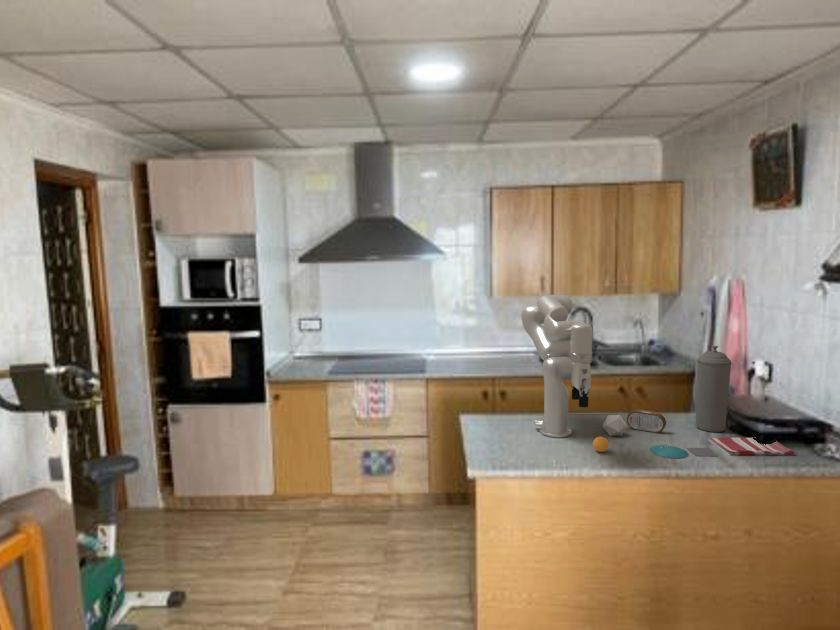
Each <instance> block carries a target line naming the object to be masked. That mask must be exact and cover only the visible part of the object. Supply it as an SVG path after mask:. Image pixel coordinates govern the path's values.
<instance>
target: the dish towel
mask: <svg viewBox="0 0 840 630" xmlns="http://www.w3.org/2000/svg"><path fill="white" fill-rule="evenodd" d="M753 438H754V437H729V436H728V437H725V436H724V437H719V436H717V437H709V438H708V442H710V443H712V444H713V445H714V446H716V447H718V448H719V449H720V450H721V451H723V452H724V453H726V454H727V455H729V456H739V457H741V456H742V457H747V456H748V457H753V456H756V455H758V456H762V455H767V456H795V451H794V450H793V449H791V448H788V447H786V446H784V445H783V444H781V443H780V442H778V441H777V440H776V442H774V443H772V444H766V445H765V444H764V445H763V444H760V443H758V442H757V441H756V440H754V439H753ZM756 457H757V456H756Z"/></svg>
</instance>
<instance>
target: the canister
mask: <svg viewBox="0 0 840 630" xmlns="http://www.w3.org/2000/svg"><path fill="white" fill-rule="evenodd" d="M711 348H712V350H710V351H708V350H707V351H705V352H703V353H702V354H701V355H700V356H699V357H698V358H697V359H696V393H695V395H696V396H695V397H696V398H695V399H696V403H695V404H696V405H695V427H696V428H697V429H699V430H701V431H705V432H713V433H720V432H724V431H725V430H726V424H727V413H728V404H729V403H728V402H729V395H730V394H729V393H730V381H731V367H732V364H733V362H732V360H731V359H730V358H729V357H728V356H727V354H725V353H724V352H722V351H718V350H717V349H718V348H719V346H718V345H711Z"/></svg>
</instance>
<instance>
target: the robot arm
mask: <svg viewBox="0 0 840 630" xmlns="http://www.w3.org/2000/svg"><path fill="white" fill-rule="evenodd" d="M572 311H573V300H572V299H571V297H570V296H569V295H566V294H545V295H542V296H540V297H539V298H538V299H537V302H536V304H532V305H528V306H526V307H524V308H523V309H522V311H521V323H522V326H523V328H524V330H525V332H526V334H527V335H528V336H529V337H530V339H531V340H532V341H533V344H534V346H535V349H536V351H537V352H538V353H537V354H538V355H539V357H540V359H541V360H542V361H543V363H542V367H541V368H542V375H543V383H544V393H543V394H544V396H543V397H544V398H543V400H544V403H543V404H544V405H543V406H544V407H543V408H544V411H543V419H542V420H539V419H534V420H533V424H534V425H535V427H540V428H539V431H540V433H541V434H542V435H544V436H546V437H549V438H567V437H570V436H571V435H572V432H573V431H572V429H571V428H569V427H568V426H569V389H568V388H567V386H566V385H565V384H564V381H571V384H572V385H571V400H578V407H579V408H588V407H589V393H590V392H589V391H591V390H592V371H591V363H592V360H593V359H592V354H593V351H592V350H593V327H592V325H590V324H589V323H588V324H587V323H586V322H585V321H582V320H567V319H568V317H569V315H570V314H571V313H572Z"/></svg>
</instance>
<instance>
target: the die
mask: <svg viewBox="0 0 840 630" xmlns="http://www.w3.org/2000/svg"><path fill="white" fill-rule="evenodd" d="M627 426H628V423H627V422H626V421H625V420H624V419H623V417H622V416H621V414H607V415H606V417H605V420H604V422H603V424H602V427H603V429H604V430H605V431H606V433H607V435H608V436H610V437H612V436H613V437H614V436H615V437H617V436H620V437H621V436H623V434H624V432H625V430H626V428H627Z"/></svg>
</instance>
